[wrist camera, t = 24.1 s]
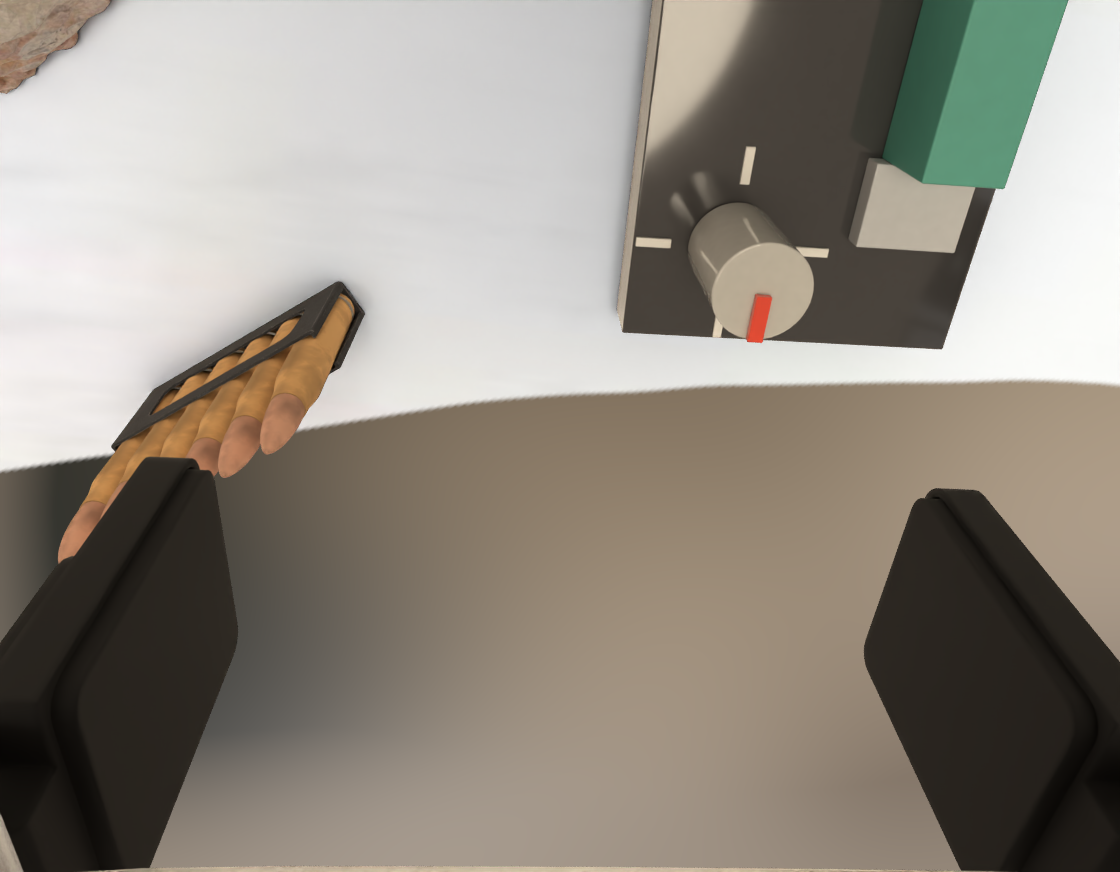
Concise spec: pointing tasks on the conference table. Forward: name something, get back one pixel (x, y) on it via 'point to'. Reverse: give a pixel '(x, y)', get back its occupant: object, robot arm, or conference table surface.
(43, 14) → the geological specimen
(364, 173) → the conference table surface
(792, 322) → the dial
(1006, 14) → the teal post
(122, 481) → the ammunition clip
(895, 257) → the hob
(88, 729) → the robot arm
